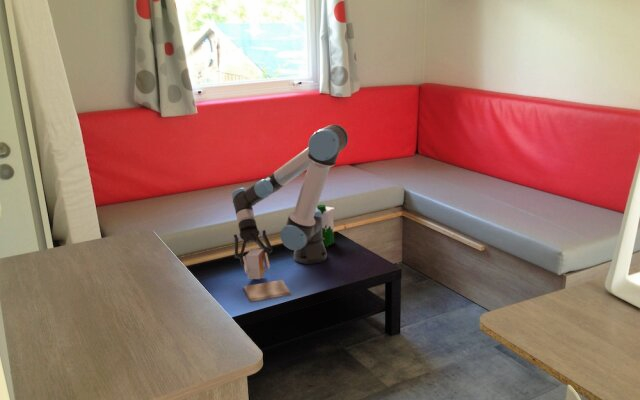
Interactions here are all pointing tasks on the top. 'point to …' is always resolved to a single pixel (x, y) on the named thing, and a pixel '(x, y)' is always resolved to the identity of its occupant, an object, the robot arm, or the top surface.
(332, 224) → the milk carton
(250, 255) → the small box
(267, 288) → the birch board
